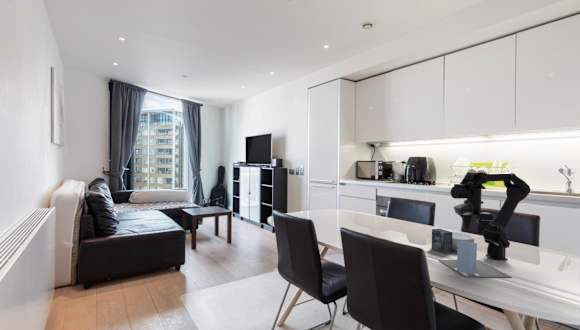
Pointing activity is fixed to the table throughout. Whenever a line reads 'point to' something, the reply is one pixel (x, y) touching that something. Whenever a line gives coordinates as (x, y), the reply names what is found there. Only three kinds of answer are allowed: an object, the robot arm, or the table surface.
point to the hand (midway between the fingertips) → (473, 231)
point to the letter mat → (477, 270)
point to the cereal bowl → (460, 239)
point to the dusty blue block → (466, 257)
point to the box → (442, 240)
